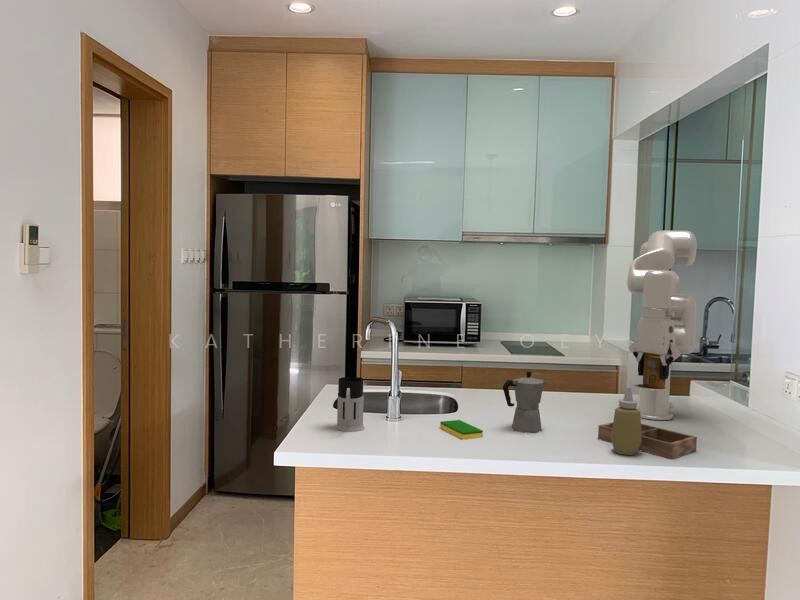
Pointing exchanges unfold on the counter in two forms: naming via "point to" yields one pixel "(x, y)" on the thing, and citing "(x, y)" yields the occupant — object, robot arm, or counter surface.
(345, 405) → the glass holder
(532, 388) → the coffeepot
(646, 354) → the condiment
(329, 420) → the counter surface
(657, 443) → the caddy
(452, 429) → the dish sponge
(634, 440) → the squeeze bottle
